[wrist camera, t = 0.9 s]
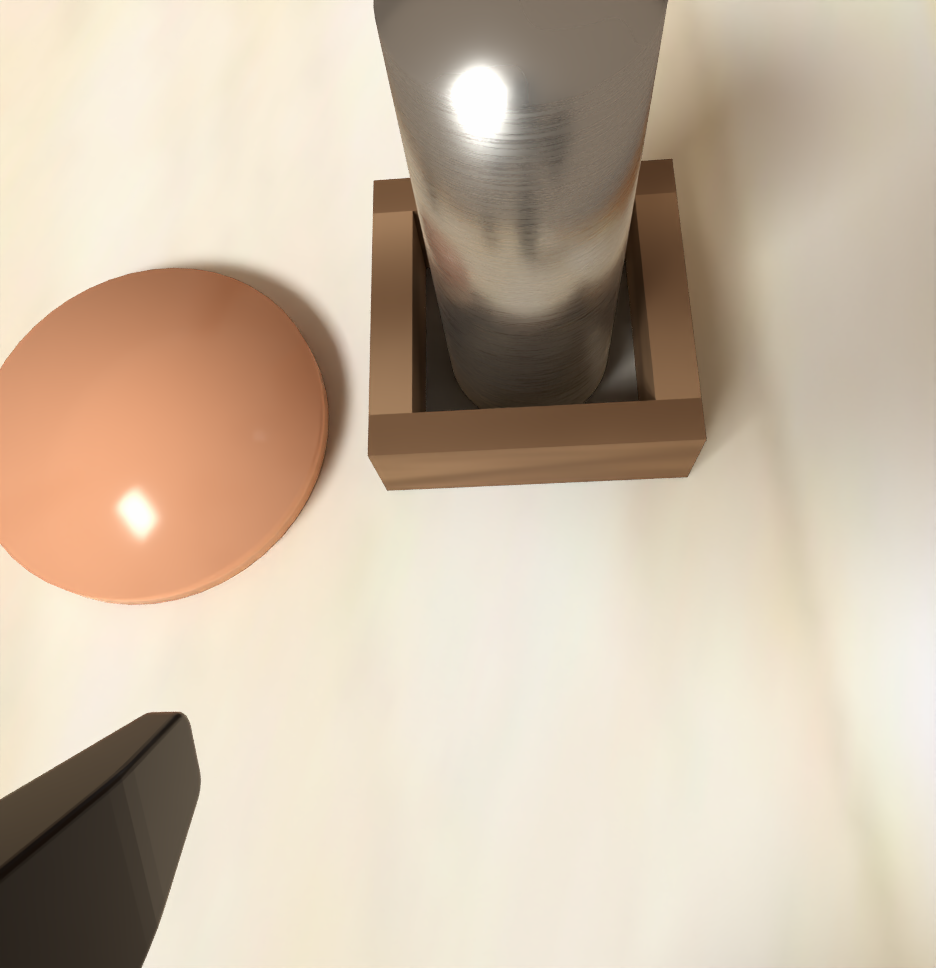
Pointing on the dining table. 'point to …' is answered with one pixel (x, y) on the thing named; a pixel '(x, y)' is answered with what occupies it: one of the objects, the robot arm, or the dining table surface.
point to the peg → (524, 177)
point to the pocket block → (539, 429)
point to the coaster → (157, 436)
